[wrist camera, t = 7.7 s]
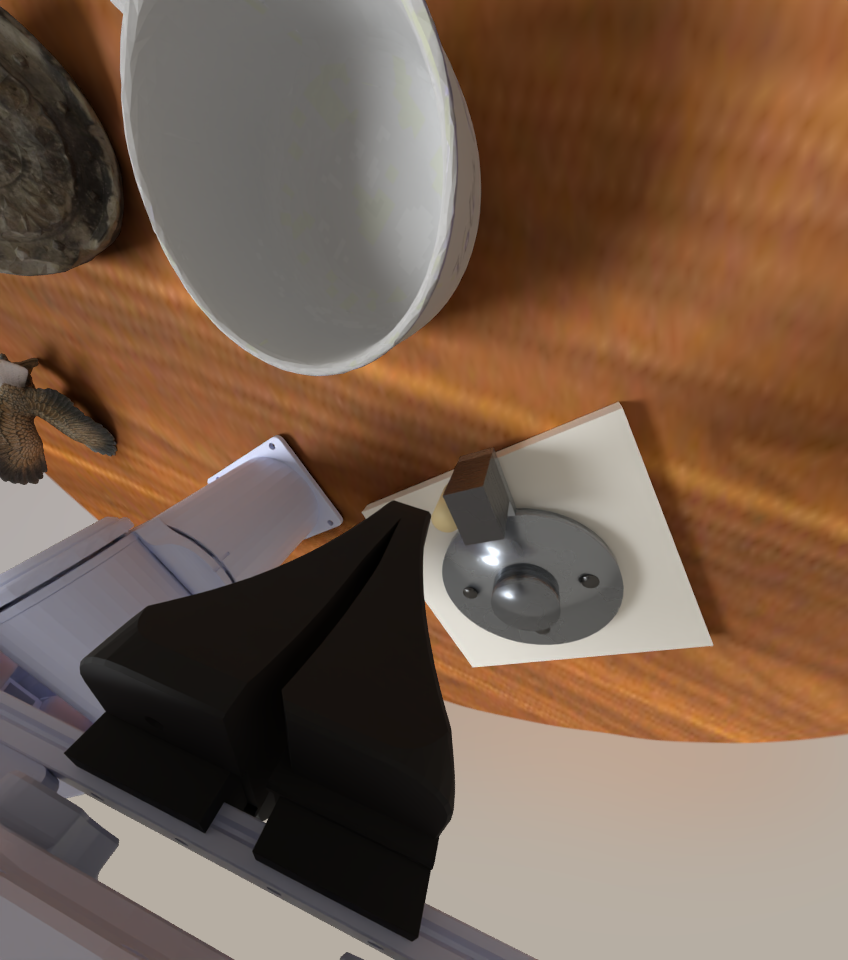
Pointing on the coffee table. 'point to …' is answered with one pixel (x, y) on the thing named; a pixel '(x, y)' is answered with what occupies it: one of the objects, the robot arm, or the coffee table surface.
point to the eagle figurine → (11, 431)
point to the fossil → (50, 163)
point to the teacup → (302, 168)
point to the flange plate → (524, 562)
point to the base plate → (599, 506)
